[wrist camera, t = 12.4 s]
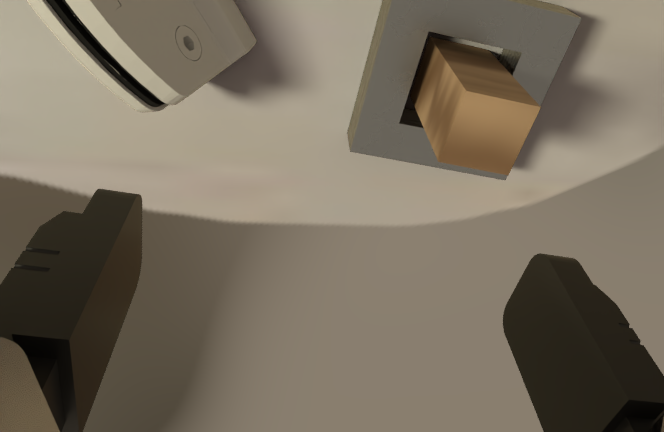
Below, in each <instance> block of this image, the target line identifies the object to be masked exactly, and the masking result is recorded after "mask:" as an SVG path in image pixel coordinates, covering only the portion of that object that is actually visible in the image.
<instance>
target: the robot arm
mask: <svg viewBox="0 0 664 432" xmlns="http://www.w3.org/2000/svg"><path fill="white" fill-rule="evenodd" d="M141 263H142V198H141V195H139V194H132V193H125V192H118V191H111V190H104V189H98V190H97V191H96V192H95V193H94V195H93V197H92V198H91V200H90V202H89V204H88V206H87V207H86V209H85V210H84V212H83V214H80V213H73V212H66V211H63V212H62V213H60V214H59V215H57V216H56V217H54V218H52V219H51V220H49V221H48V222H46V223H45V224H43V225H42V226H40V227H39V229H38V230H37V232H36V233H35V235H34V236H33V238H32V239H31V240H30V242H29V244H28V245H27V246H26V251H23V252H22V254H21V255H20V257H19V258H18V260H17V261H16V263H15V267H14V268H11V270H10V271H9V273H8V274H7V276H6V277H5V279H4V280H3V282H2V284H1V285H0V432H83V430H84V427H85V424H86V422H87V419H88V416H89V414H90V411H91V408H92V406H93V403H94V400H95V398H96V395H97V392H98V390H99V387H100V384H101V381H102V379H103V376H104V373H105V371H106V368H107V365H108V363H109V360H110V357H111V355H112V352H113V349H114V347H115V344H116V341H117V339H118V336H119V333H120V331H121V328H122V325H123V323H124V320H125V317H126V315H127V312H128V309H129V307H130V304H131V301H132V299H133V296H134V293H135V290H136V288H137V284H138V280H139V276H140V269H141ZM503 328H504V333H505V336H506V338H507V340H508V343H509V346H510V348H511V351H512V353H513V356H514V358H515V361H516V363H517V366H518V368H519V371H520V373H521V376H522V378H523V381H524V383H525V386H526V388H527V391H528V393H529V396H530V398H531V401H532V403H533V406H534V408H535V410H536V413H537V416H538V418H539V421H540V423H541V426H542V428H543V431H544V432H664V376H663V374H662V373H661V371H660V370H659V368H658V367H657V365H656V364H655V362H654V361H653V359H652V357H651V356H650V355H649V353H648V352H647V350H646V348H645V347H644V346H643V345H640V339H639V338H638V336H637V335H636V333H635V332H634V330H633V329H632V328H629V323H628V321H627V320H626V318H625V317H624V315H623V314H622V312H621V311H620V309H619V308H618V306H617V305H616V304H615V303H614V302H613V301H612V300H611V299H610V298H609V297H608V296H607V295H606V294H605V293H603V292H602V291H601V290H600V289H599V288H598V287H597V286H595V285H593V283H592V282H591V280H590V279H589V277H588V276H587V274H586V272H585V271H584V269H583V268H582V266H581V265H580V263H579V262H578V261H577V260H576V259H573V258H568V257H560V256H554V255H547V254H537V255H535V256H534V257H533V258H532V259H531V260H530V262H529V264H528V266H527V268H526V269H525V271H524V273H523V275H522V277H521V279H520V280H519V282H518V284H517V286H516V288H515V290H514V292H513V294H512V295H511V297H510V299H509V301H508V302H507V305H506V307H505V310H504V315H503Z"/></svg>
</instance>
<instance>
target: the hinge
mask: <svg viewBox="0 0 664 432" xmlns="http://www.w3.org/2000/svg"><path fill="white" fill-rule="evenodd" d="M27 2H28V3H29V4H30V6H31V7H32V8H33V9H34V11H35V12H36V13H37V15H38V16H39V17H40V18H41V20H42V21H43V22H44V23H45V24H46V26H47V27H48V28H49V29H50V31H51V32H52V33H53V34H54V35H55V36H56V38H57V39H58V40H59V41H60V42H61V43H62V44H63V45H64V46H65V48H66V49H67V50H68V51H69V52H70V53H71V54H72V55H73V56H74V57H75V58H76V59H77V60H78V61H79V62H80V63H81V64H82V65H83V66H84V67H85V68H86V69H87V70H88V71H89V72H90V73H91V74H92V75H93V76H94V77H95V78H96V79H97V80H98V81H99V82H101V83H102V84H103V85H104V86H105V87H106V88H107V89H109V90H110V91H111V92H112V93H113V94H115V95H116V96H117V97H118V98H120V99H121V100H122V101H124V102H125V103H126V104H128V105H129V106H130V107H132V108H133V109H134V110H136V111H138V112H154V111H160V110H163V109H164V108H165V107H167V106H168V105H169V104H170V105H176V104H178V103H179V102H181V101H182V100H184V99H185V98H186V97H188V96H189V95H191V94H192V93H193V92H195V91H196V90H197V89H199V88H200V87H202V86H203V85H204V84H206V83H207V82H208V81H210V80H211V79H212V78H214V77H215V76H216V75H218V74H219V73H220V72H222V71H223V70H224V69H226V68H227V67H228V66H230V65H231V64H233V63H234V62H235V61H237V60H238V59H239V58H241V57H242V56H243V55H245V54H246V53H248V52H249V51H250V50H251V48H252V47H253V46H254V45H255V44H256V42H257V40H256V38H255V37H254V35H253V33H252V32H251V30H250V28H249V26H248V25H247V23H246V21H245V19H244V18H243V16H242V14H241V12H240V11H239V9H238V7H237V5H236V4H235V2H234V0H27Z"/></svg>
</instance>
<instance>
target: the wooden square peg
mask: <svg viewBox="0 0 664 432" xmlns="http://www.w3.org/2000/svg"><path fill="white" fill-rule="evenodd" d="M410 97H411V100H412V102H413V104H414V107H415V109H416V111H417V113H418V116H419V118H420V120H421V123H422V125H423V127H424V130H425V132H426V134H427V137H428V139H429V141H430V144H431V146H432V148H433V151H434V153H435V155H436V158H437V160H438V162H441V163H446V164H452V165H457V166H462V167H467V168H472V169H478V170H483V171H488V172H493V173H498V174H503V175H509V173H510V171H511V169H512V166H513V164H514V162H515V160H516V158H517V156H518V154H519V152H520V150H521V148H522V146H523V144H524V141H525V139H526V137H527V135H528V133H529V131H530V129H531V127H532V125H533V123H534V121H535V119H536V116H537V114H538V112H539V110H540V108H541V107H540V106H539V104H538V103H537V102H536V101H535V100H534V99H533V98H532V97H531V96H530V95H529V94H528V92H527V91H526V90H525V89H524V88H523V87H522V86H521V85H520V84H519V83H518V82H517V80H516V79H515V78H514V77H513V76H512V75H511V74H510V73H509V72H508V71H507V70H506V68H505V67H504V66H503V65H502V64H501V63H500V62H499V61H498V60H497V59H496V57H495V56H494V55H493V54H492V53H491V52H490V51H489V50H486V49H482V48H477V47H473V46H469V45H464V44H460V43H456V42H452V41H447V40H443V39H439V38H434V37H429V40H428V43H427V46H426V49H425V52H424V55H423V58H422V61H421V64H420V67H419V70H418V73H417V76H416V79H415V82H414V85H413V88H412V91H411V94H410Z"/></svg>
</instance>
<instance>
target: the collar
mask: <svg viewBox="0 0 664 432" xmlns="http://www.w3.org/2000/svg"><path fill="white" fill-rule="evenodd" d="M581 19H582V18H580V17H579V16H577V15H575V14H574V13H572V12H570V11H569V10H567V9H566V8H564V7H562V6H558V5H554V4H549V3H545V2H541V1H537V0H383V1H382V5H381V9H380V12H379V16H378V20H377V24H376V27H375V31H374V35H373V39H372V42H371V46H370V50H369V54H368V57H367V61H366V65H365V69H364V72H363V76H362V80H361V84H360V87H359V91H358V95H357V99H356V102H355V106H354V110H353V114H352V117H351V121H350V125H349V129H348V132H347V134H348V141H349V147H350V152H355V153H361V154H366V155H372V156H377V157H382V158H388V159H393V160H399V161H404V162H409V163H415V164H420V165H426V166H431V167H436V168H442V169H447V170H453V171H458V172H463V173H469V174H474V175H480V176H485V177H490V178H496V179H501V180H506V178H507V176H508V175H503V174H498V173H493V172H488V171H483V170H478V169H472V168H467V167H462V166H457V165H452V164H446V163H441V162H438V160H437V158H436V155H435V153H434V151H433V148H432V146H431V144H430V141H429V139H428V137H427V134H426V132H425V130H424V127H423V125H422V123H421V120H420V118H419V116H418V113H417V111H414V110H409V109H404V106H405V103H406V100H407V97H408V94H409V91H410V88H411V85H412V82H413V79H414V75H415V72H416V69H417V66H418V63H419V60H420V57H421V54H422V51H423V47H424V44H425V41H426V38H427V35H428V32H434V33H438V34H443V35H447V36H451V37H456V38H460V39H465V40H469V41H473V42H478V43H482V44H487V45H491V46H495V47H500V48H504V49H503V52H502V54H501V57H500V59H499V62H500V63H501V64H502V65H503V66H504V67H505V68H506V70H507V71H508V72H509V73H510V74H511V75H512V76H513V77H514V78H515V79H516V80H517V82H518V83H519V84H520V85H521V86H522V87H523V88H524V89H525V90H526V91H527V92H528V94H529V95H530V96H531V97H532V98H533V99H534V100H535V101H536V102H537V103H538V104H539V106H541V104H542V102H543V99H544V97H545V95H546V93H547V91H548V89H549V87H550V85H551V82H552V80H553V78H554V76H555V74H556V72H557V70H558V68H559V65H560V63H561V61H562V59H563V57H564V55H565V53H566V51H567V49H568V46H569V44H570V42H571V40H572V38H573V36H574V34H575V32H576V29H577V27H578V25H579V23H580V21H581Z"/></svg>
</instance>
